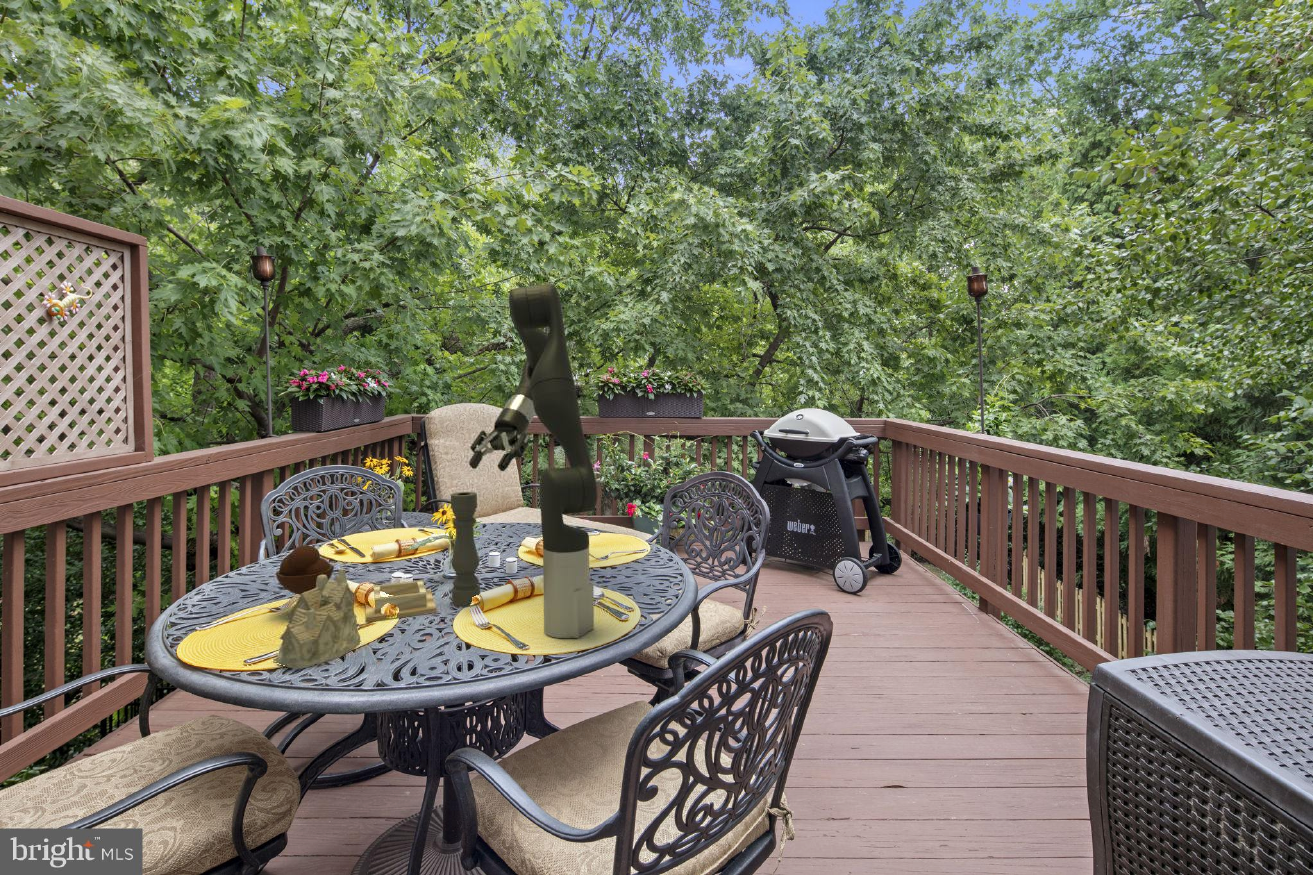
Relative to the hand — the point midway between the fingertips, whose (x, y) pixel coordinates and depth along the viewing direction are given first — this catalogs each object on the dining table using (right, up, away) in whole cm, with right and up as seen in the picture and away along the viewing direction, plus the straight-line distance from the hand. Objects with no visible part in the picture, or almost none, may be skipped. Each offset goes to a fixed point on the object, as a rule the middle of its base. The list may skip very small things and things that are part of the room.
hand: (486, 467), depth 151 cm
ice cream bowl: (-36, -31, -11) cm, 49 cm away
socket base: (-17, -31, -8) cm, 36 cm away
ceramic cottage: (-25, -33, -30) cm, 51 cm away
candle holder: (-3, -31, -4) cm, 31 cm away
